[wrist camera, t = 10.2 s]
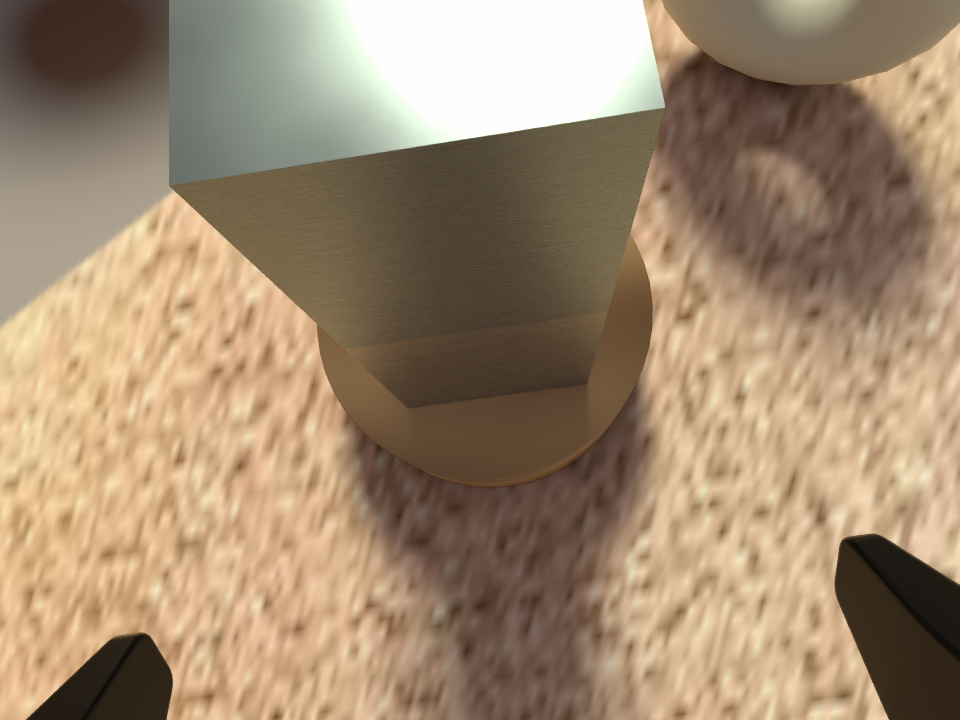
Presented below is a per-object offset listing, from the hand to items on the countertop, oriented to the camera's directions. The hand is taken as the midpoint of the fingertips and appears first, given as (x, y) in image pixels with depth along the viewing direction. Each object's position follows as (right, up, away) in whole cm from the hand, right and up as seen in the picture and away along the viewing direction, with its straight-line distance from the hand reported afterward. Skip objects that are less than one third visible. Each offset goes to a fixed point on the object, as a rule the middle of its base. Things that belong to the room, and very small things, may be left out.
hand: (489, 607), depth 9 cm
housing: (0, +5, +11) cm, 12 cm away
